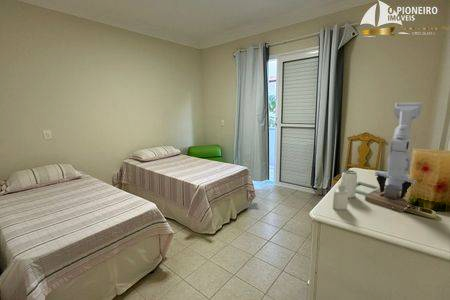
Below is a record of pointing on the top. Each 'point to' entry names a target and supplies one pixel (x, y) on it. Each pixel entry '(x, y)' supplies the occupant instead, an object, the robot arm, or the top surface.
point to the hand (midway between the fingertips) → (391, 194)
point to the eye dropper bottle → (340, 198)
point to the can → (349, 182)
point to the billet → (392, 192)
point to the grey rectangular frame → (368, 186)
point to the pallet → (387, 200)
